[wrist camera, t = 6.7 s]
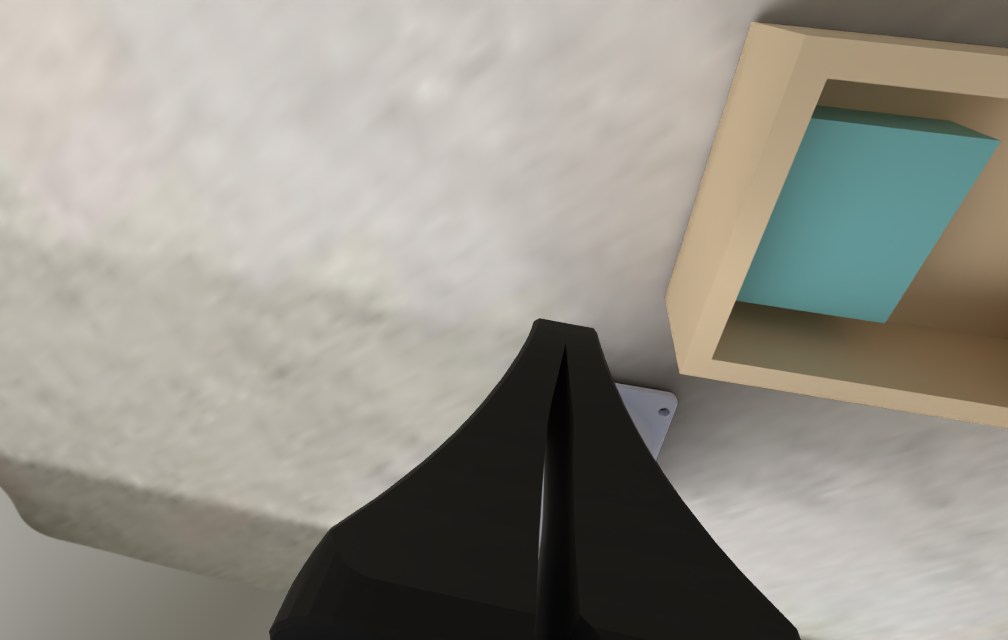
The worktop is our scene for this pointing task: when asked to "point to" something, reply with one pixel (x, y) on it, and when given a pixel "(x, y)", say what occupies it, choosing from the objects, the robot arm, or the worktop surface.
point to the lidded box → (854, 226)
